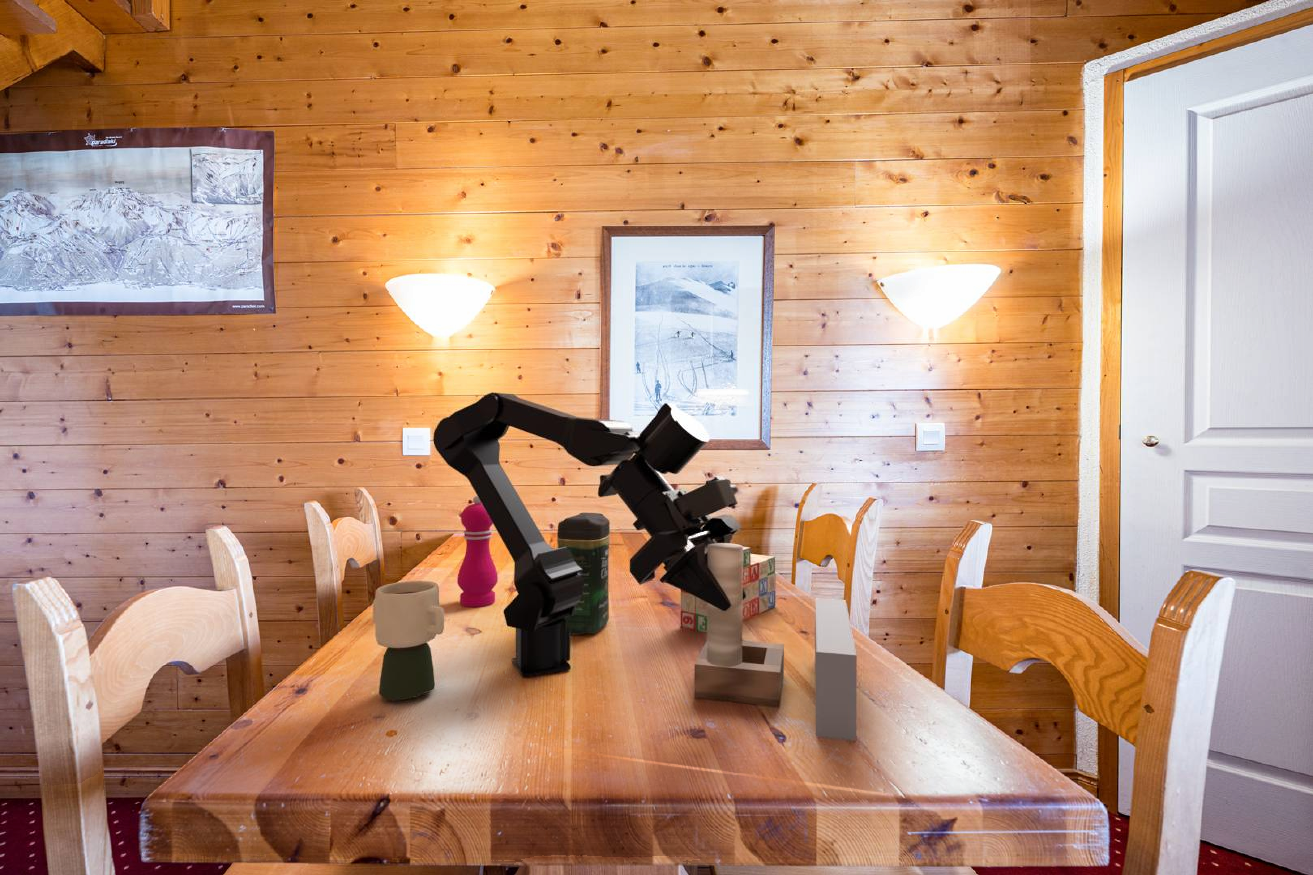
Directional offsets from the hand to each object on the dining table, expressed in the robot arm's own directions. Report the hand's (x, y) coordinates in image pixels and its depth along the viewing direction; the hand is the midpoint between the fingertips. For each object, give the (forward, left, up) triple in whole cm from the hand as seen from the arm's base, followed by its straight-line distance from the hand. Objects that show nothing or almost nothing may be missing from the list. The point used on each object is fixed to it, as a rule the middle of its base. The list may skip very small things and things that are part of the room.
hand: (736, 603), depth 70 cm
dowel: (-1, +1, -7) cm, 7 cm away
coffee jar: (-5, +37, -13) cm, 40 cm away
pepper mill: (-18, +59, -13) cm, 63 cm away
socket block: (+5, +6, -12) cm, 15 cm away
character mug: (-33, +21, -13) cm, 41 cm away
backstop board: (+13, -1, -12) cm, 18 cm away
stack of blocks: (+20, +32, -13) cm, 40 cm away
